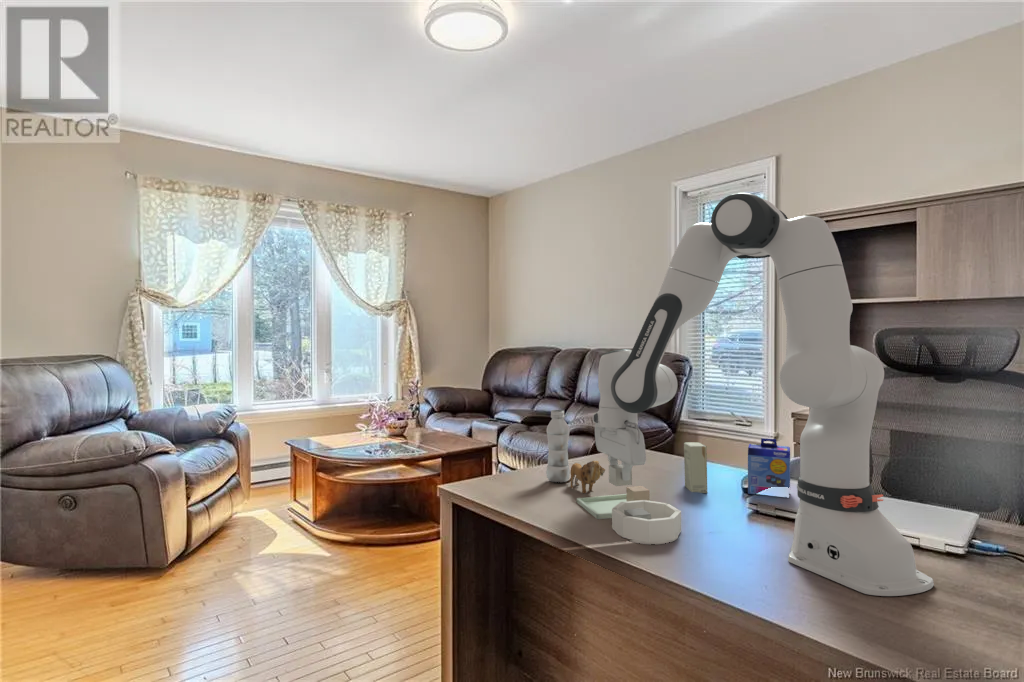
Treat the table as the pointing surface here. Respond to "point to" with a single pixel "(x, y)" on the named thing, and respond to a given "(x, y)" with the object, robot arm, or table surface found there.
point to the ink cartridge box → (768, 466)
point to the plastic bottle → (558, 448)
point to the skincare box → (695, 466)
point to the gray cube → (637, 513)
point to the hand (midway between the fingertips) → (620, 477)
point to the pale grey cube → (618, 476)
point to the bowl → (647, 522)
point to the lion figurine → (586, 474)
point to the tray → (601, 504)
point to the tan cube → (637, 493)
